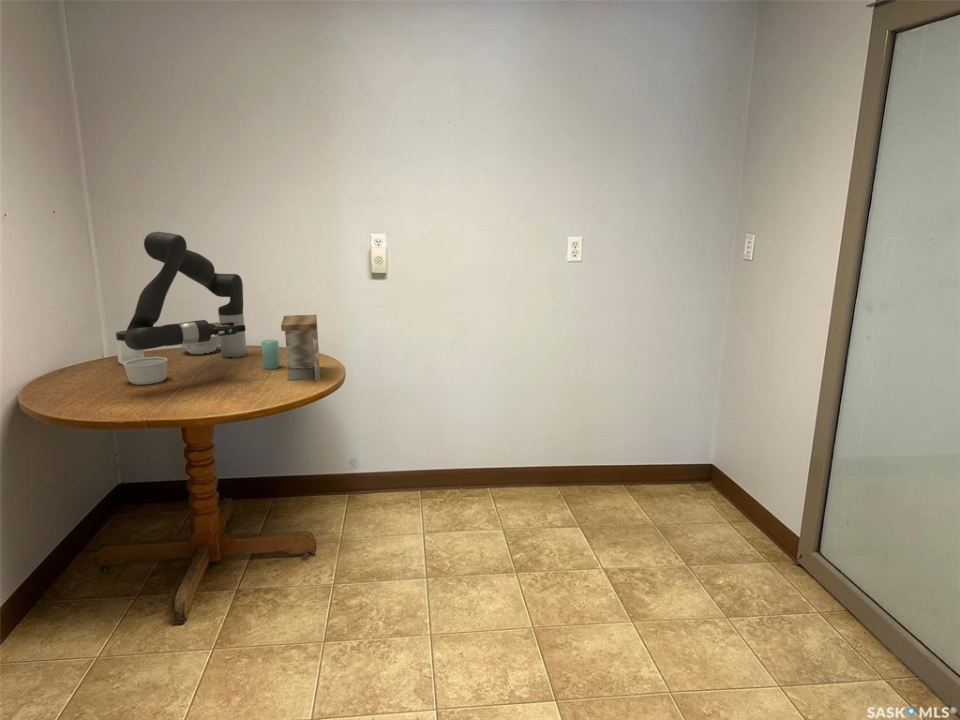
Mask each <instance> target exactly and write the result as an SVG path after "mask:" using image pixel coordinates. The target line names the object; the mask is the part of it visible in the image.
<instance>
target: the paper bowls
mask: <svg viewBox="0 0 960 720" xmlns="http://www.w3.org/2000/svg"><path fill="white" fill-rule="evenodd" d="M180 345H181V348H183V349H185V350H186V351H187V352H188V353H189V354H192V355H205V354H204V353H207V354H211V353H210V352H212V353H214V352H215V351H216V350H217V348H218V346H221V345H220V336H215V335H211V339H210V340H209V341H207V342H200V343H193V344H180ZM213 351H214V352H213Z"/></svg>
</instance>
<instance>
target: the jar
mask: <svg viewBox="0 0 960 720" xmlns="http://www.w3.org/2000/svg"><path fill="white" fill-rule="evenodd" d="M125 333H126V330H120V331H117V332H115V344H116V351H117V359H118V363H119V364H121V365H123V366H124V363H125V362H127V361H130V360H134V359H139V358H146V357H145V351H144V350H133V349H131V348H129V347H128V346H127V345H126V343H125Z"/></svg>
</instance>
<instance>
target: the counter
mask: <svg viewBox="0 0 960 720" xmlns="http://www.w3.org/2000/svg"><path fill="white" fill-rule="evenodd" d="M317 315H318V314H300V315H299V314H297V315H294V314H293V315H283V318H282V321H281V325H280V326H281V327H280V329H281V332H284V334H285V337H284V338H285V346H286V349H285V350H286V360H287V365H286V366H287V370H294V369H295V368H302V369H309V368H308V367H315V368H314V380H316V381H320V380H321V376H320V375H321V373H320V371H321V370H320V368H321V367H320V349H319V334H318V333H319V332H318V318H317ZM293 368H294V369H293Z"/></svg>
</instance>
